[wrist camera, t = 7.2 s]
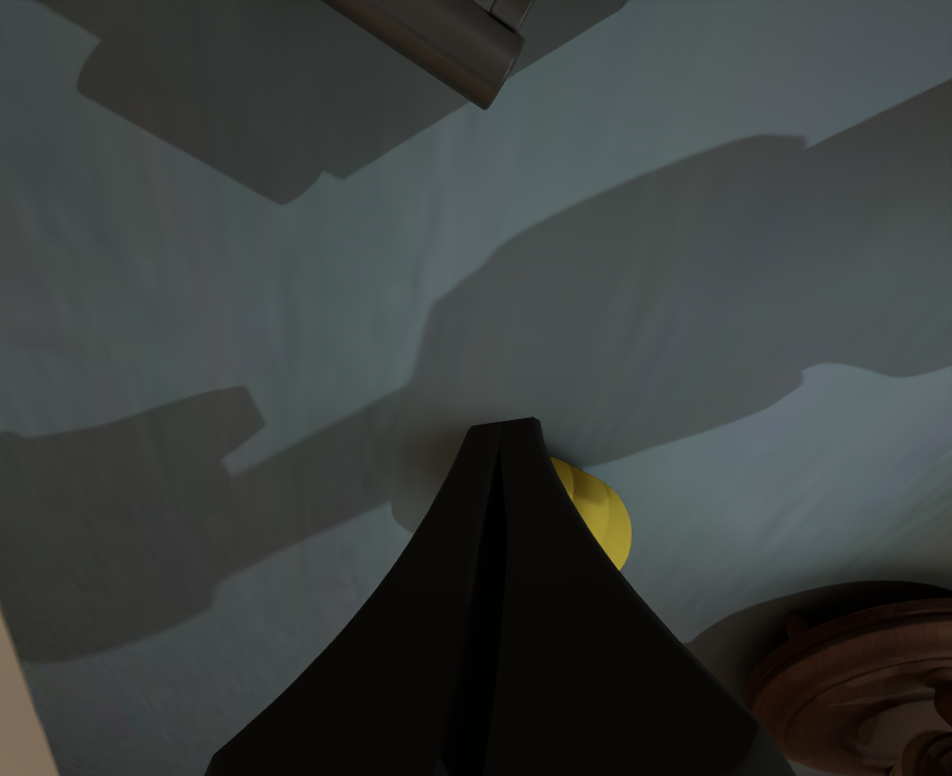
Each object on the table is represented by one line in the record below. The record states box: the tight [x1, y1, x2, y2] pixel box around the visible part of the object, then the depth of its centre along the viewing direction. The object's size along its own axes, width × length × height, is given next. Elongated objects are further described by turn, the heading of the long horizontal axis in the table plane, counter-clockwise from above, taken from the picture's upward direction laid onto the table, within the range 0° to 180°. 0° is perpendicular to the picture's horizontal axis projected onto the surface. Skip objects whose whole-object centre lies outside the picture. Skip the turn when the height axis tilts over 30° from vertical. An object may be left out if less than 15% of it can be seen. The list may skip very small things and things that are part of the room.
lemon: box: [550, 457, 632, 571], centre depth 22 cm, size 6×5×5 cm
